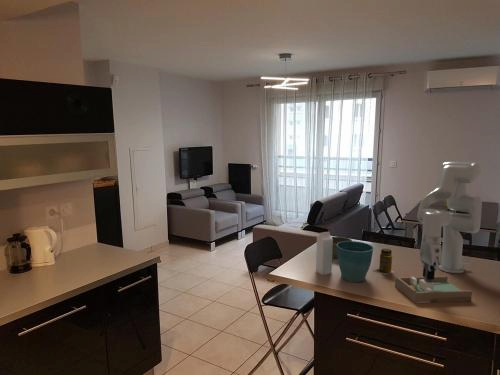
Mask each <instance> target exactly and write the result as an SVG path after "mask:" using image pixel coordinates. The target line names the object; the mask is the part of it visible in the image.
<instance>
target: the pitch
mask: <svg viewBox="0 0 500 375" xmlns="http://www.w3.org/2000/svg"><path fill="white" fill-rule="evenodd" d="M448 278H449V277H448V276H447V275H441V276H435V275H434V279H433V280H432V282H433V283H441V285H434V289H433V290H432V289H430V288H426V291H424V290H423V289H421V288H420V287H419V279H424V277H423V276H407V277H405V276H402V277H398V276H397V277H395V279H394V287H395V289H397V290H399V291H400V293H402V294H403V295H404V296H406V297H407V298H408V299H409V300H411V301H412V302H413V303H414V304H423V303H450V302H452V303H453V302H471V301H472V294H473V293H472V292H473V291H472V290H468V289H467V290H462V289H460V288H458V287H456V286H455V285H454V284H451V282H448ZM410 285H411V286H414V287H415V289H413V288H412V287H411V286H410Z"/></svg>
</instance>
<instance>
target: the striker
mask: <svg viewBox="0 0 500 375" xmlns="http://www.w3.org/2000/svg"><path fill="white" fill-rule="evenodd" d="M433 264H434V263H433ZM431 267H433V266H431ZM428 268H429V264H427V263H425V277H424V279H419V287H420V288H421V289H423V290H424V291H426V288H430V289H432V290H433V289H434V285H441V283H433V282H432V280H428V279H427V271H429V270H428Z"/></svg>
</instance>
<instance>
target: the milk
mask: <svg viewBox="0 0 500 375" xmlns="http://www.w3.org/2000/svg"><path fill="white" fill-rule="evenodd" d="M332 237H333V236H332V235H331V233H330V231H323V232H320V234H319V236H317V237H316V258H315V260H316V261H315V262H316V263H315V272H317V273H318V274H320V275H322V276H324V275H330V274H331V275H332V273H333V272H332V270H333V257H332V247H333V239H332Z"/></svg>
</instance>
